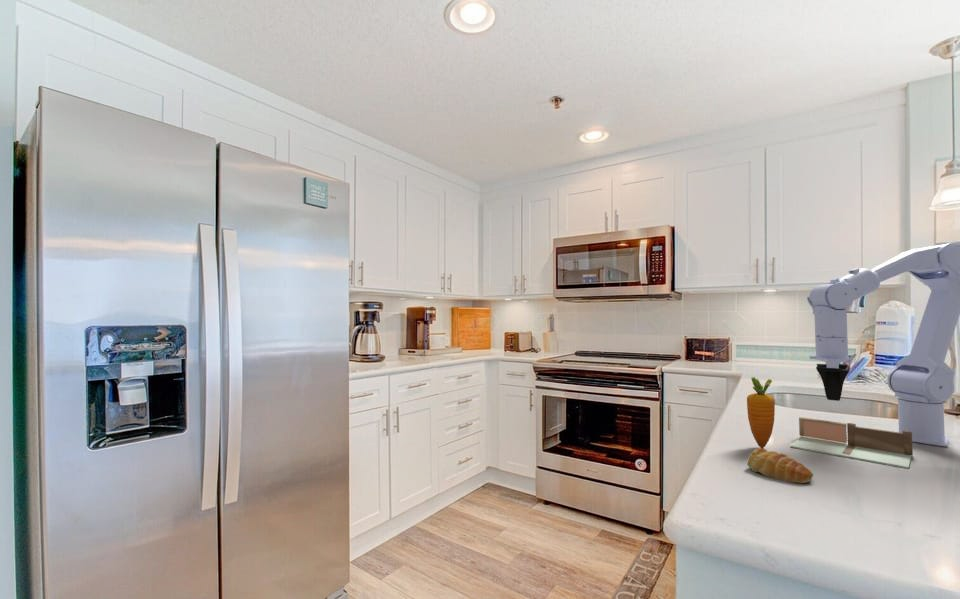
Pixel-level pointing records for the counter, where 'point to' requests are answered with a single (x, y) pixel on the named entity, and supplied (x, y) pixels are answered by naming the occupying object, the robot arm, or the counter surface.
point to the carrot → (761, 412)
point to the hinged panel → (823, 429)
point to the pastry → (778, 466)
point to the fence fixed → (880, 439)
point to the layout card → (852, 451)
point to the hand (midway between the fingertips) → (833, 397)
